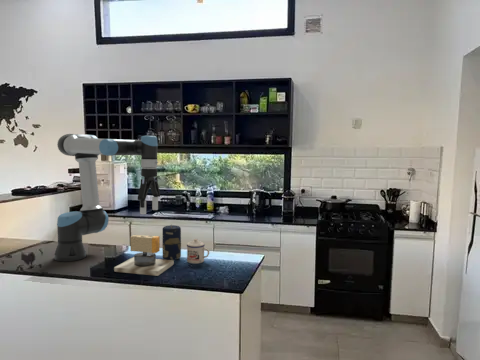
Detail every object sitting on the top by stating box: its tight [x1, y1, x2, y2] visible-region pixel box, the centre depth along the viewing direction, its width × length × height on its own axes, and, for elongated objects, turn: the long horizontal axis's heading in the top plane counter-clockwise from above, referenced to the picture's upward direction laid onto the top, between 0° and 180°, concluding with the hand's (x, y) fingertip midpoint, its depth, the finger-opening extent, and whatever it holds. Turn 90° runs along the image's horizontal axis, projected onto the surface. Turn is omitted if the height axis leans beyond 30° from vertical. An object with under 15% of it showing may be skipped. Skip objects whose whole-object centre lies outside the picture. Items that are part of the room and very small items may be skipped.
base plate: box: [113, 256, 175, 277], centre depth 182 cm, size 22×18×2 cm
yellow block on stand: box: [129, 234, 161, 266], centre depth 182 cm, size 13×10×13 cm
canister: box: [162, 224, 182, 261], centre depth 198 cm, size 10×10×18 cm
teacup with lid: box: [186, 238, 210, 264], centre depth 194 cm, size 12×9×12 cm
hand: (149, 212), depth 184 cm, fingers open, 13 cm apart
